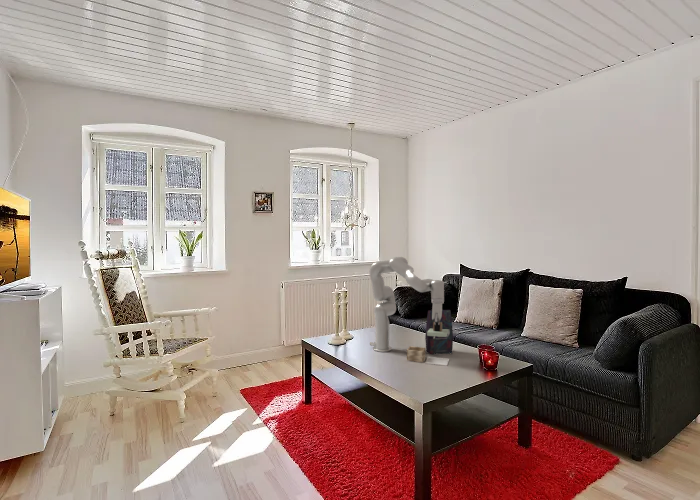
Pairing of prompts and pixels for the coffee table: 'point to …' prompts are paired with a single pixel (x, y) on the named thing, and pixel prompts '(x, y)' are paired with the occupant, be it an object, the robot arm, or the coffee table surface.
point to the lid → (437, 333)
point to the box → (416, 354)
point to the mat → (437, 361)
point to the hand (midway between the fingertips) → (437, 330)
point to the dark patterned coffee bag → (435, 342)
